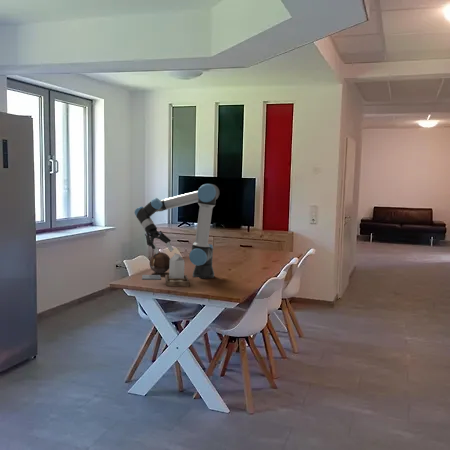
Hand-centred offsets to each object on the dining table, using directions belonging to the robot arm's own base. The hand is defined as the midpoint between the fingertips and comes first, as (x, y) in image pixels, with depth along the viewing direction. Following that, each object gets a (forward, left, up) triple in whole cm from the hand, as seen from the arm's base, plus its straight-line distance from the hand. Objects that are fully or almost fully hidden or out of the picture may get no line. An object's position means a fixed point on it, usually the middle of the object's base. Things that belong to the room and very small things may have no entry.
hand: (165, 251), depth 312 cm
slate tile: (+8, -2, -19) cm, 21 cm away
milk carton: (-8, +8, -19) cm, 22 cm away
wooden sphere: (+2, -25, -19) cm, 32 cm away
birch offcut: (-7, +18, -18) cm, 26 cm away
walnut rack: (-8, +13, -19) cm, 24 cm away
